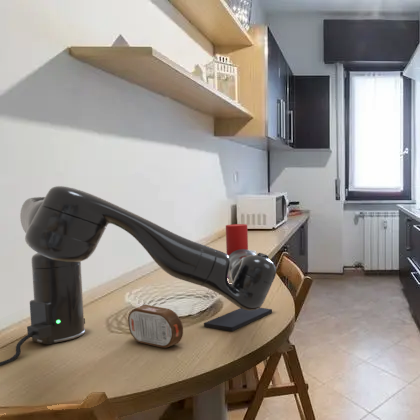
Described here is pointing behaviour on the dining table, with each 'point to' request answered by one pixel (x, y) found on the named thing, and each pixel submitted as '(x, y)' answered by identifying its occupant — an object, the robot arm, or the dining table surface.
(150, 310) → the tin
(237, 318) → the rubber mat
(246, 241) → the squeeze bottle
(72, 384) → the dining table surface
